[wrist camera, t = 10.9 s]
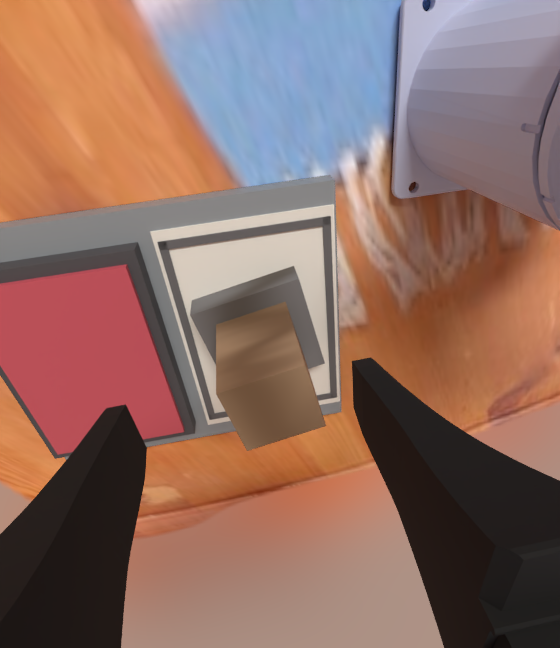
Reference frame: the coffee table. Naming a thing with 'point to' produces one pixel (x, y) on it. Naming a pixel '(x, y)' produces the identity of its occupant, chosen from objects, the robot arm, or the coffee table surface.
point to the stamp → (263, 356)
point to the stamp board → (153, 304)
